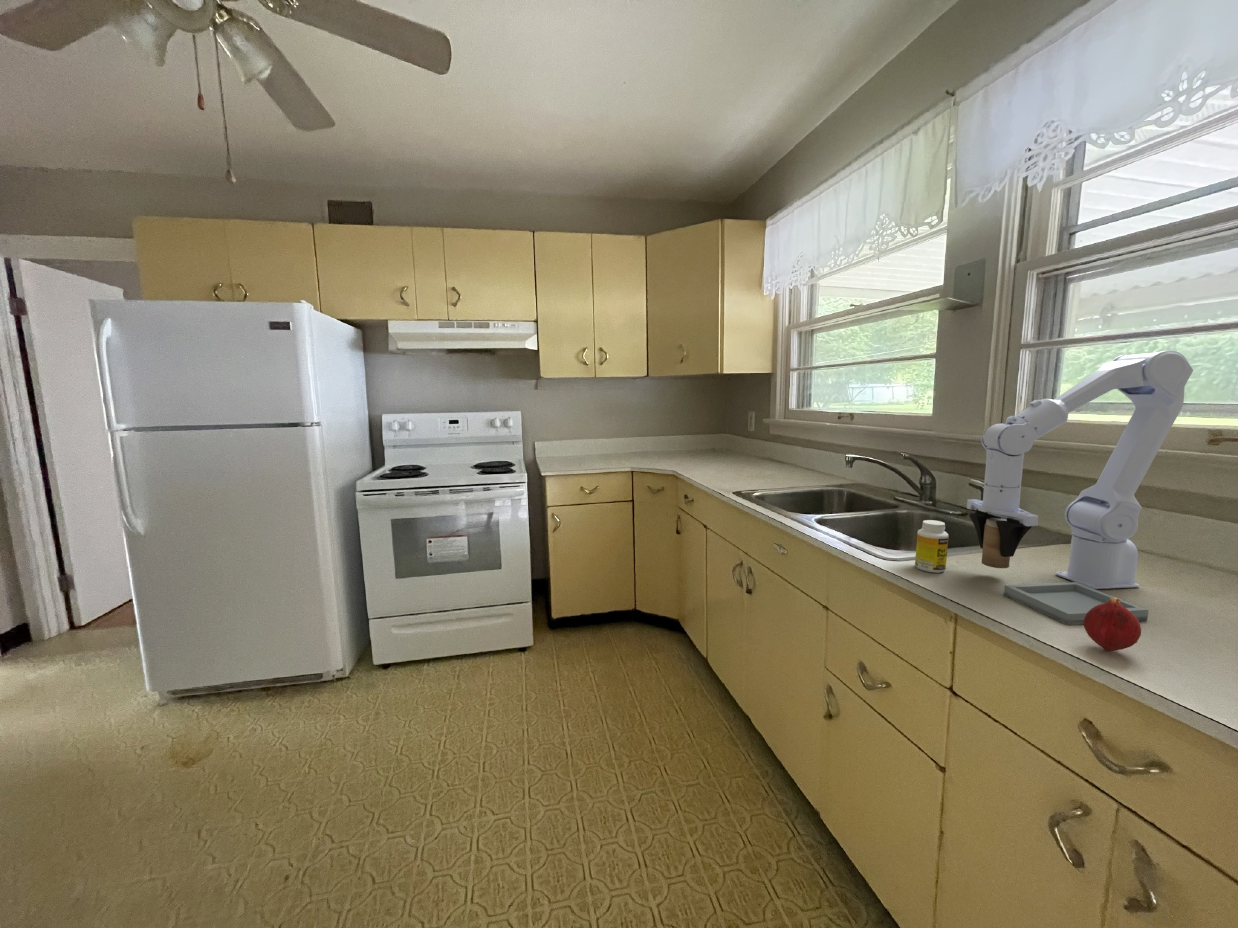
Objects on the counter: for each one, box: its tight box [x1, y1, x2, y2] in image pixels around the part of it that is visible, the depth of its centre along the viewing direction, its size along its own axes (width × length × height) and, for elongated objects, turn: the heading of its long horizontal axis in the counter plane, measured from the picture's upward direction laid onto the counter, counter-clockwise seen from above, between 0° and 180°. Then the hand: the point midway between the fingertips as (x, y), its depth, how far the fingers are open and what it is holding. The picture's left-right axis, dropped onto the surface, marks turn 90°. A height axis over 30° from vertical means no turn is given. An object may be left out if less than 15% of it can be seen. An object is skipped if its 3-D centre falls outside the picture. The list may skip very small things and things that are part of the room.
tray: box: [1003, 581, 1150, 625], centre depth 85 cm, size 14×12×2 cm
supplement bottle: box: [914, 519, 950, 574], centre depth 104 cm, size 6×6×10 cm
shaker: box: [981, 518, 1011, 569], centre depth 98 cm, size 4×4×9 cm
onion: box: [1083, 596, 1142, 652], centre depth 70 cm, size 6×6×8 cm
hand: (996, 552), depth 98 cm, fingers closed on shaker, 4 cm apart
